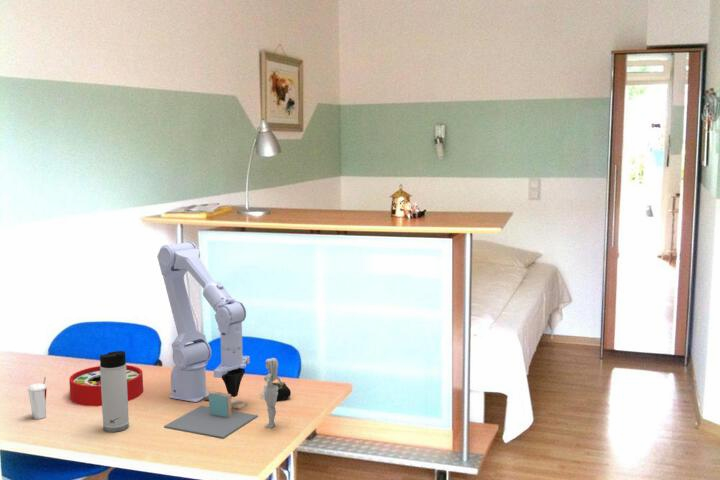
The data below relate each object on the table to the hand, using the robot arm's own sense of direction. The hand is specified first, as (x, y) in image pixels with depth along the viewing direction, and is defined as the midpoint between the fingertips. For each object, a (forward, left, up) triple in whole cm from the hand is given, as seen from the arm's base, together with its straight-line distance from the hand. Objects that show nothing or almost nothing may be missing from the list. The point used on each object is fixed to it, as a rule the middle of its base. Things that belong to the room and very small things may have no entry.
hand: (233, 395), depth 204 cm
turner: (-5, +3, -4) cm, 7 cm away
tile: (0, -6, -3) cm, 7 cm away
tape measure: (+6, +14, -4) cm, 16 cm away
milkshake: (-44, -25, -4) cm, 51 cm away
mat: (0, -10, -4) cm, 11 cm away
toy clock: (-40, -4, -4) cm, 41 cm away
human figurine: (+16, -6, -4) cm, 18 cm away
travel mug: (-20, -23, -4) cm, 31 cm away
